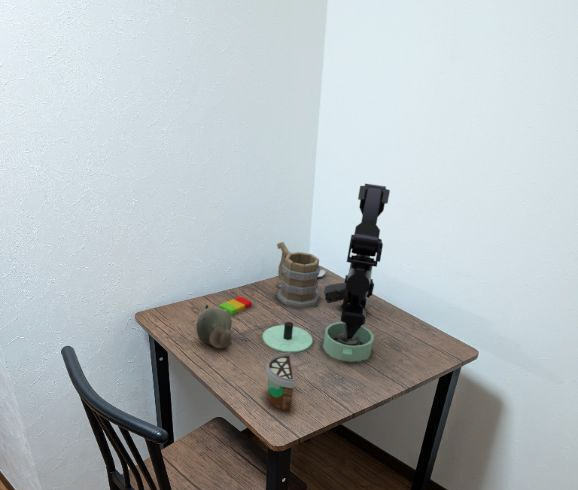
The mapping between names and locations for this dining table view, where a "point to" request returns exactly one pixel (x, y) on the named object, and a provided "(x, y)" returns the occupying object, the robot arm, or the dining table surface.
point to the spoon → (318, 275)
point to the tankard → (298, 278)
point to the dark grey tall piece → (346, 341)
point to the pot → (347, 351)
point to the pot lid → (287, 338)
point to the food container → (280, 382)
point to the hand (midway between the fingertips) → (349, 330)
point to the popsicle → (235, 305)
